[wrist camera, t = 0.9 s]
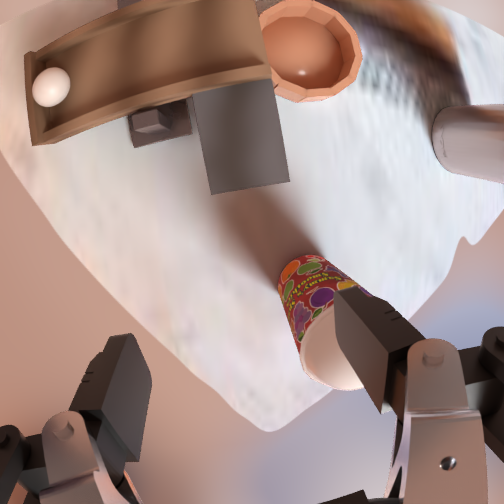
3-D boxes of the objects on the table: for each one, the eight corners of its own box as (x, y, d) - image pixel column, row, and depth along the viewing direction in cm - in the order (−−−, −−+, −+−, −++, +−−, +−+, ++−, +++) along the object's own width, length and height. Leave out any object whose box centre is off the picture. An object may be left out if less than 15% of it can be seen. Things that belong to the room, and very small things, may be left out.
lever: (252, -3, 20) (248, -31, 15) (287, 177, 26) (292, 186, 21) (56, 63, 22) (24, 55, 17) (83, 219, 28) (52, 235, 23)
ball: (76, 61, 19) (46, 59, 16) (80, 97, 20) (48, 98, 17) (53, 77, 20) (23, 78, 17) (56, 111, 21) (26, 114, 18)
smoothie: (298, 229, 34) (396, 322, 15) (350, 268, 36) (455, 367, 17) (254, 289, 35) (298, 425, 16) (308, 321, 38) (376, 445, 19)
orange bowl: (335, 13, 26) (347, 1, 23) (355, 98, 30) (370, 94, 27) (240, 15, 26) (243, 2, 22) (258, 107, 29) (264, 102, 26)
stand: (172, 15, 25) (163, -19, 17) (192, 133, 29) (186, 127, 22) (118, 30, 24) (95, 1, 17) (135, 147, 29) (112, 147, 21)
